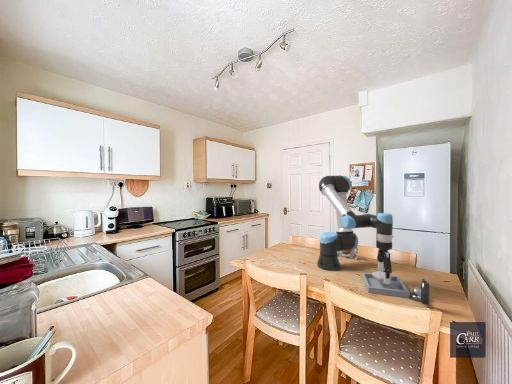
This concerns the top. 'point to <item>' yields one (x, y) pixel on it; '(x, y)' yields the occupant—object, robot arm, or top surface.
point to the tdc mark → (445, 301)
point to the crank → (422, 292)
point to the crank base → (414, 297)
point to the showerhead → (380, 277)
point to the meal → (348, 253)
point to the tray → (389, 289)
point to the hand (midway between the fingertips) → (383, 278)
